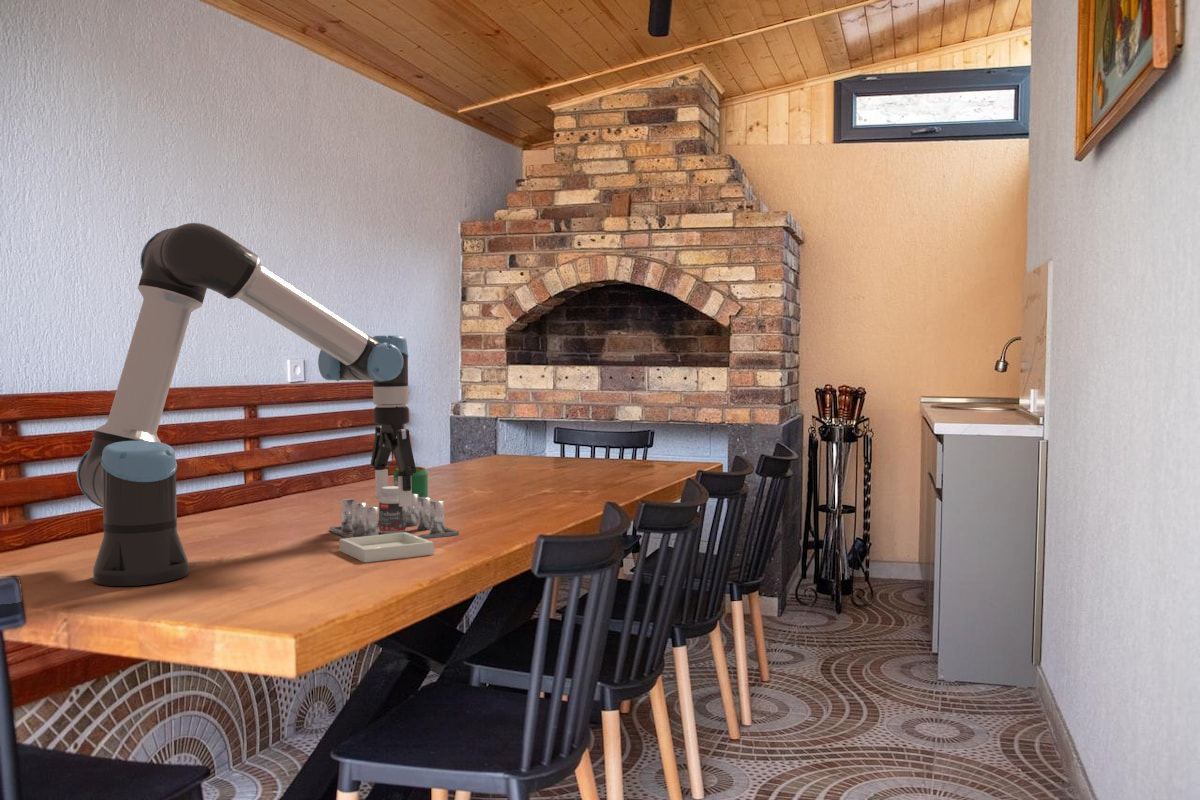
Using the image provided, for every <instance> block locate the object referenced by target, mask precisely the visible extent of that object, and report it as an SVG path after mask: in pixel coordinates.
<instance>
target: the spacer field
mask: <svg viewBox="0 0 1200 800" xmlns="http://www.w3.org/2000/svg"><path fill="white" fill-rule="evenodd" d="M340 504H341V505H340V506H341V515H340V516H341V526H340V525H338V526H330V527H329V532H332V533H335V534H336V535H338V536H341V537H343V538H353V537H362V536H372V535H379V505H378V506H377V505H367V502H365V501H360V502H358V501H356V499H355V498H342V499H341V503H340ZM405 507H406V509H405V510H406V526H409V527H413V526H416V527H417V530H418V531H427V530H429V533H428V534H420V535H419V534H418V535H417V536H418V537H421V538H423V539H430V538H431V539H432V538H441V537H443V538H445V537H452V536H459V533H460V532H459V530H456V529H454V528H453V529H452V528H450V527H447V526H445V501H444V500H439V499H438V500H432V498H431V497H430V496H428V497H418V494H412V506H405ZM350 533H352V534H350Z"/></svg>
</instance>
